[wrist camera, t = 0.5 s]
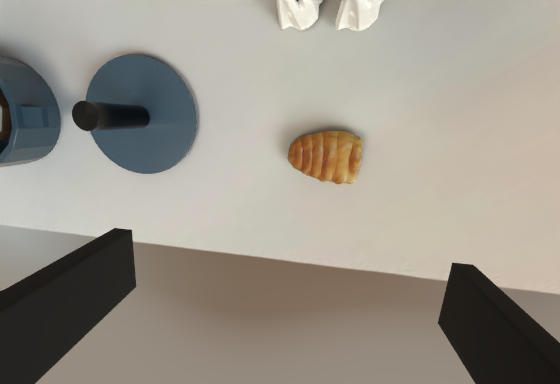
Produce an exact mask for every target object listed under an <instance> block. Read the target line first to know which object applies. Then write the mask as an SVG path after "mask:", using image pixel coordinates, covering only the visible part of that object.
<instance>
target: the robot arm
mask: <svg viewBox="0 0 560 384" xmlns="http://www.w3.org/2000/svg"><path fill="white" fill-rule="evenodd" d="M135 287H136V279H135V266H134V253H133V240H132V230H127V229H118V228H114V229H113V230H111V231H109V232H107V233H105V234H104V235H102V236H100V237H98V238H96V239H95V240H93V241H91V242H89V243H87V244H86V245H84V246H82V247H80V248H78V249H77V250H75V251H73V252H71V253H70V254H68V255H66V256H64V257H62V258H60V259H59V260H57V261H55V262H53V263H52V264H50V265H48V266H46V267H44V268H43V269H41V270H39V271H37V272H35V273H34V274H32V275H30V276H28V277H26V278H25V279H23V280H21V281H19V282H17V283H16V284H14V285H12V286H10V287H9V288H7V289H5V290H2V291H0V384H35V383H36V382H37V381H38V380H39V379H40V378H41V377H42V376H43V375H44V374H45V373H46V372H47V371H49V369H50V368H52V367H53V366H54V365H55V364H56V363H57V362H58V361H59V360H60V359H61V358H62V357H63V356H64V355H65V354H66V353H67V352H68V351H69V350H70V349H71V348H73V346H74V345H76V344H77V343H78V342H79V341H80V340H81V339H82V338H83V337H84V336H85V335H86V334H87V333H88V332H89V331H90V330H91V329H92V328H93V327H94V326H96V325H97V324H98V323H99V322H100V321H101V320H102V319H103V318H104V317H105V316H106V315H107V314H108V313H109V312H110V311H111V310H112V309H113V308H114V307H115V306H116V305H117V304H118V303H120V302H121V300H123V299H124V298H125V297H126V296H127V295H128V294H129V293H130V292H131V291H132V290H133V289H134V288H135ZM438 324H439V325H440V327H441V329H442V330H443V332H444V334H445V335H446V337H447V338H448V340H449V342H450V343H451V345H452V346H453V348H454V350H455V351H456V353H457V354H458V356H459V358H460V359H461V361H462V363H463V364H464V366H465V367H466V369H467V371H468V372H469V374H470V376H471V377H472V379H473V380H474V382H475V383H476V384H560V343H559V342H558V341H557V340H556V339H555V338H554V337H552V336H551V335H550V334H549V333H548V332H547V331H546V330H545V329H543V327H541V326H540V325H539V324H538V323H537V322H536V321H535V320H534V319H532V318H531V317H530V316H529V315H528V314H527V313H526V312H525V311H524V310H523V309H521V308H520V307H519V306H518V305H517V304H516V303H515V302H514V301H513V300H512V299H510V298H509V297H508V296H507V295H506V294H505V293H504V292H503V291H501V290H500V289H499V288H498V287H497V286H496V285H495V284H494V283H493V282H492V281H491V280H489V279H488V278H487V277H486V276H485V275H484V274H483V273H482V272H481V271H479V270H478V269H477V268H476V267H475V266H474V265H470V264H460V263H452V266H451V271H450V275H449V279H448V283H447V287H446V292H445V296H444V300H443V304H442V309H441V312H440V316H439V321H438Z"/></svg>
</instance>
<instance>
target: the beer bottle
mask: <svg viewBox="0 0 560 384" xmlns="http://www.w3.org/2000/svg"><path fill="white" fill-rule="evenodd" d="M11 130H12V123H11V116H10V109H9V104H8V102H7V100H6V98H5V96H4V94H3V92H2V90H1V88H0V141H5V140H9V139H10V134H11Z"/></svg>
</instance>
